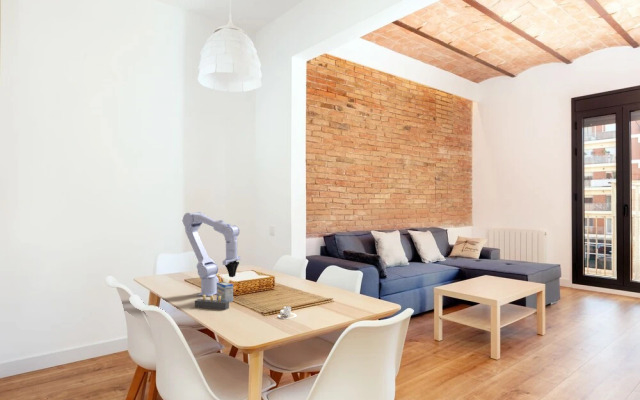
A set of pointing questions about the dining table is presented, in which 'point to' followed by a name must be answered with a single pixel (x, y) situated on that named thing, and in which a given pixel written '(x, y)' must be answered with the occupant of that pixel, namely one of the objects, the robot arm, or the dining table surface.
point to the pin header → (212, 303)
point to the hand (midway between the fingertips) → (232, 276)
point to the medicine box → (225, 291)
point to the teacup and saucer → (286, 312)
